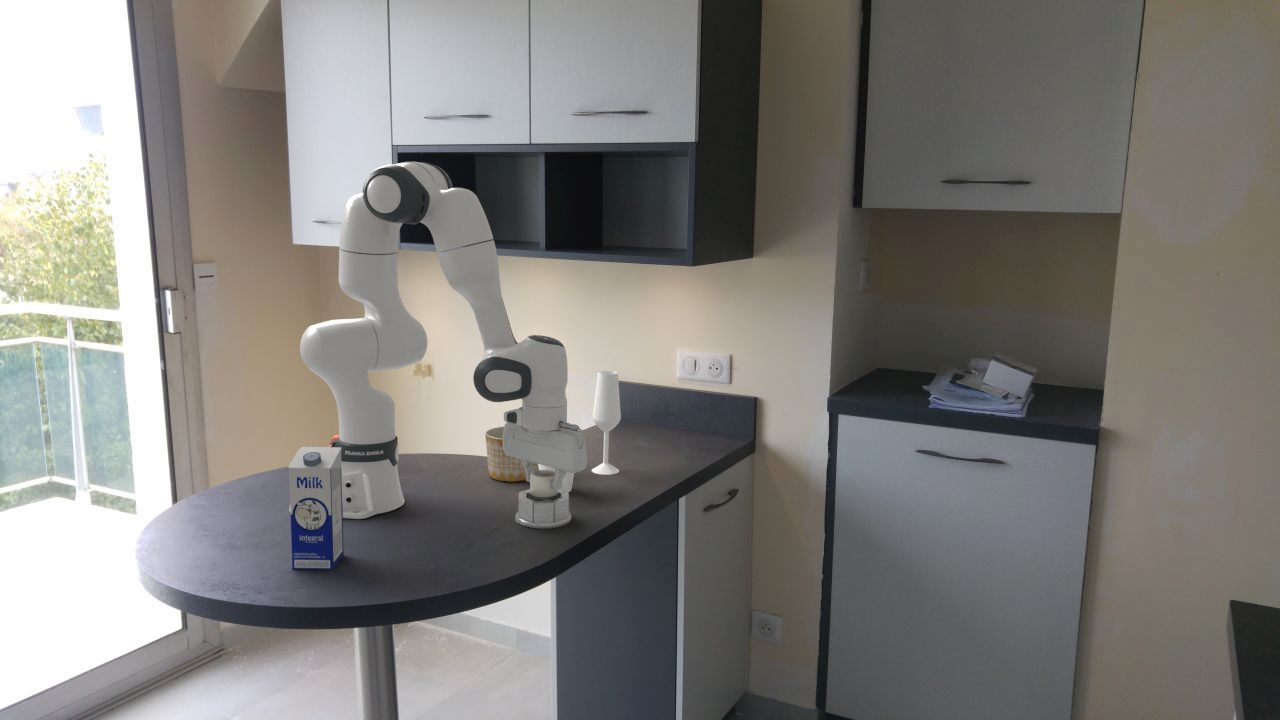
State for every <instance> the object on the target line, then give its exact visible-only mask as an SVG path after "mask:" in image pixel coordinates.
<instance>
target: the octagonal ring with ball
mask: <svg viewBox="0 0 1280 720" xmlns="http://www.w3.org/2000/svg"><path fill="white" fill-rule="evenodd" d="M569 493H570V492H566V491H563V490H560V489H558V494H557V495H555V496H552V497H536V496H533V495H531V494H530V488H529V489H528V488H527V489H526V490H522V491H519V492H518V501H517V502H518V506H517V508H518V510H517V511H516V512H515V518H514V519H515V523H516V524H518V523H519V524H520V526H521V525H522V527H524V526H526V527H525V528H528V527H530V528H529V529H534V528H535V529H536V530H549V529H550V530H551V529H557V528H562V527H564V526H566V525H568V524H570V523H571V522H572V513H571V511H570V494H569ZM519 524H518V525H519ZM535 529H534V530H535Z"/></svg>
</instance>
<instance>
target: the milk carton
mask: <svg viewBox="0 0 1280 720" xmlns="http://www.w3.org/2000/svg"><path fill="white" fill-rule="evenodd" d="M287 468H288V479H289V481H288V482H289V483H288V485H289V509H290V510H289V512H290V534H291V535H290V536H291V537H290V538H291V562H292V563H291V566H292V567H291V569H292V570H305V571H306V570H309V571H311V570H312V571H314V570H315V571H333V570H334V568H335V567H336V566H337V565H338V564H339V562H340V561H341V560H342V558H343V557H344V555H345V554H344V550H345V549H344V547H345V546H344V521H343V519H344V518H343V508H342V468H341V447H329V446H301V447H300V448H299V449H298V450H297V452H296V453H295V455H294V457H293V458H292V460H291V461H290V463H289V465H288V466H287Z"/></svg>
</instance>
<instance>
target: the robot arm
mask: <svg viewBox="0 0 1280 720" xmlns="http://www.w3.org/2000/svg"><path fill="white" fill-rule="evenodd" d="M453 186H454V185H453V183H452V179H451V178H450V176H449V174H448V173H447V171H445V170H444V169H442V168H441V167H440V166H438V165H435V164H433V163H432V162H431V163H430V162H428V161H427V162H425V161H422V162H418V161H404V162H403V161H402V162H400V163H388V164H384V165H381V166H380V167H377V168H375V169H374V170H373V171H371V172H370V173H369V175H367V177H366V178H365V181H364V183H363V186H362V192H360V193H356V194H354V195H352V196H351V197H350V198H349V199H348V200H347V201H346V203H345V205H344V209H343V214H342V219H341V225H340V233H339V249H338V251H339V254H338V284H339V288H340V289H341V291H342V292H343V293H344V294H345V295H346V296H347V297H349V298H350V299H352V300H355V301H357V302H358V303H361V304H362V305H363V308H364V316H363V317H360V318H359V317H358V318H342V319H340V318H339V319H331V320H330V319H329V320H325V321H322V322H318V323H315V324H312V325H309V326H308V327H307V328H306V329H305V331H304V332H303V334H302V336H301V339H300V342H299V343H300V344H299V352H300V353H299V354H300V357H301V359H302V362H303V363H304V365H305V366H306V368H307V369H309V370H310V372H312V373H314V374H315V375H317V376H318V378H321V379H322V381H324V382H325V384H327V386H328V387H329V388H330V390H331V392H332V394H333V396H334V399H335V402H336V408H337V415H338V428H339V432H338V433H339V434H336V435H333V436H332V438H331V440H330V443H329V446H328V447H341V468H342V508H343V519H353V520H362V519H363V520H364V519H367V518H370V517H373V516H375V515H379V514H384V513H388V512H391V511H394V510H396V509H397V510H398V508H401V507H402V506H403V505H404V504H405V502H406V501H405V498H404V495H403V492H402V487H401V483H400V477H399V473H398V472H399V470H398V463H399V453H400V452H399V443H398V442H399V441H398V436H397V435H396V405H395V401H394V400H393V398H392V396H390V394H388V393H387V392H385V391H384V390H382V389H379V388H378V387H374V386H372V385H371V382H370V378H369V373H371V372H378V371H379V372H380V371H391V370H399V369H402V368H406V367H409V366H412V365H415V364H418V363H420V362H422V359H424V356H425V354H426V353H427V349H428V336H427V335H428V334H427V331H426V330H425V327H423V325H422V324H421V322H420V321H419V320H418V319H416V318H415V317H414V316H413V315H411V314H410V313H409V311H408V310H407V309H406V307H405V305H404V303H403V301H402V298H401V295H400V292H399V282H398V259H399V258H398V254H399V253H398V252H399V251H398V249H399V232H400V229H401V227H402V226H403V224H406V225H418V224H420V223H421V224H423V225H424V226H426V227H427V228H428V230H429V231H430V234H431V237H432V239H433V240H432V241H433V243H434V247H435V251H436V253H437V254H436V255H437V259H438V261H439V264H440V267H441V271H442V273H443V275H444V276H445V279H446V281H447V282H448V285H449V286H450V287H451V289H452V290H454V291H456V292H457V293H459V294H460V296H462V297H463V298H464V299H465V300H466V301H467V303H468V304H469V306H470V308H471V310H472V311H473V314H474V317H475V320H476V324H477V327H478V330H479V335H480V337H481V341H482V343H483V358H482V359H481V360H480V362H479V363H478V364H477V365H476V368H475V369H474V372H473V377H472V378H473V381H472V382H473V386H474V388H475V390H476V391H477V393H478V394H479V395H480V396H481V397H482V398H483V399H484V400H487V401H489V402H492V403H504V402H511V401H516V400H522V402H521V404H522V405H521V407H519V408H515V409H511V410H508V411H505V412H504V413H503V421H504V422H505V424H504V425H503V427H504V429H503V450H504V452H505V454H506V455H508V456H511V457H515V458H519V459H522V465H523V468H524V470H525V472H526V480H525V481H526V482H529V483H530V473H531V472H533V471H534V468H533V463H537V465H538V464H541V465H545V466H548V467H552V468H554V473H557V474H556V476H555V478H554V480H550V484H551V485H550V487H551V488H552V489H555V490H558V489H561V487H562V480H563V478H564V476H565V474H566V473H567V472H570V473H574V474H576V473H579V472H582V471H584V470H585V469H586V467H587V465H588V459H587V457H588V456H587V455H588V454H587V447H586V445H587V444H586V439H585V432H584V431H583V429H582V428H581V427H580V425H578V424H573V423H570V422H568V419H567V418H568V399H567V395H566V389H567V385H568V382H569V381H568V378H569V376H568V373H569V372H568V356H567V350H566V347H565V345H564V344H563V343H562V342H561V341H560V340H558V339H556V338H554V337H551V336H546V335H541V334H539V335H537V334H531V335H528V336H526V338H524V340H522V341H520V342H517V340H516V338H515V336H514V334H513V331H512V327H511V324H510V319H509V317H508V314H507V310H506V306H505V303H504V300H503V296H502V295H503V294H502V289H501V288H502V287H501V279H500V278H501V277H500V276H501V275H500V266H499V259H498V253H497V248H496V243H495V239H494V236H493V232H492V230H491V229H492V228H491V226H490V223H489V221H488V217H487V215H486V213H485V210H484V207H482V204H481V202H480V200H479V198H478V196H477V195H476V193H474V191H471V190H470V189H467V188H463V187H453ZM288 510H289V511H290V508H289V509H288Z"/></svg>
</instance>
